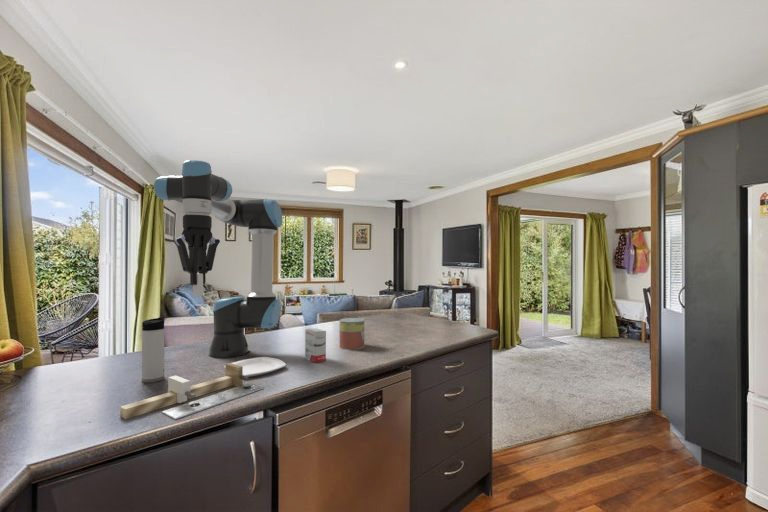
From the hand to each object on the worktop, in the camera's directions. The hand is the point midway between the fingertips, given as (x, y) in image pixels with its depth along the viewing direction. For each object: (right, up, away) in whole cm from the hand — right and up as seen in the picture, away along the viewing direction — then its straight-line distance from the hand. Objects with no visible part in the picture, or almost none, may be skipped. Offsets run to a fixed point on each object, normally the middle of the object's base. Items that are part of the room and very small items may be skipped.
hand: (198, 295), depth 107 cm
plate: (+8, -30, +24) cm, 39 cm away
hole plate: (+7, -29, -4) cm, 30 cm away
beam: (0, -29, -4) cm, 29 cm away
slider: (-1, -29, -6) cm, 29 cm away
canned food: (+40, -29, +57) cm, 76 cm away
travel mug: (-21, -29, +13) cm, 39 cm away
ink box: (+27, -29, +36) cm, 54 cm away
